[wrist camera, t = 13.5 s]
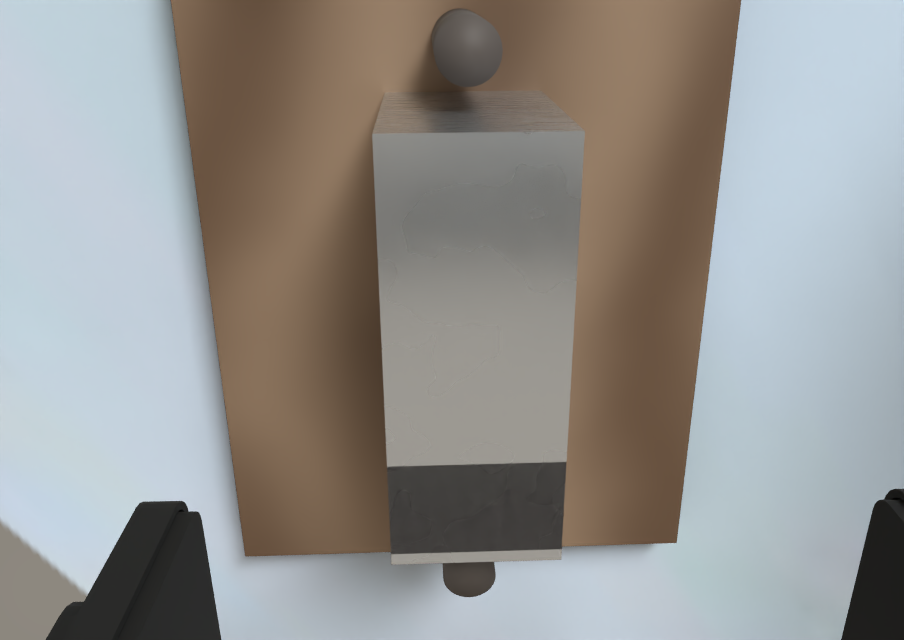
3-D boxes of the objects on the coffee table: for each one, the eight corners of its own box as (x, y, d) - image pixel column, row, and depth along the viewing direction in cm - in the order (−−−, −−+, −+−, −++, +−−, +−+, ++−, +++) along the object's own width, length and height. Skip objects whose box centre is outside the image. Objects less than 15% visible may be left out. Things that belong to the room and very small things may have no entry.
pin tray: (731, -65, 21) (825, -77, 16) (666, 520, 28) (717, 633, 23) (176, -59, 20) (101, -71, 16) (252, 533, 27) (216, 651, 22)
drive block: (541, 90, 21) (584, 131, 15) (529, 429, 25) (561, 559, 19) (384, 92, 21) (372, 133, 15) (397, 433, 25) (391, 564, 19)
